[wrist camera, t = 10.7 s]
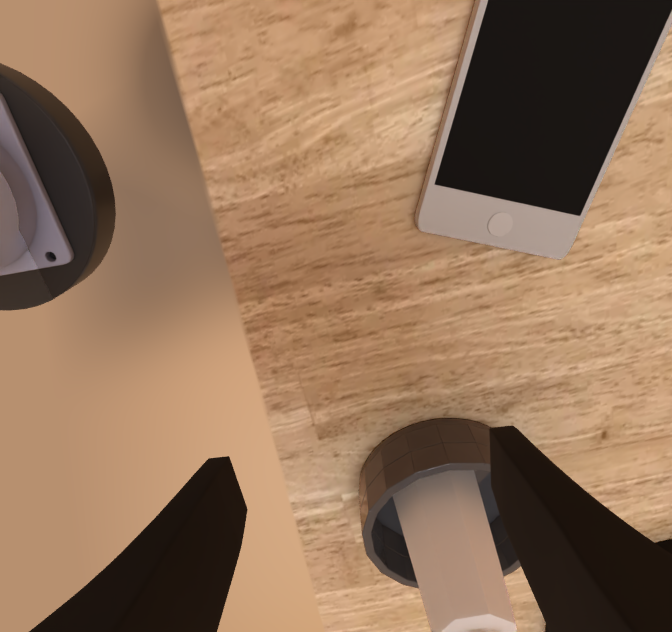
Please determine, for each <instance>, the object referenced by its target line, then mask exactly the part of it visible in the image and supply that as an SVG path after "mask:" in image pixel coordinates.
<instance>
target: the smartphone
mask: <svg viewBox="0 0 672 632" xmlns="http://www.w3.org/2000/svg"><path fill="white" fill-rule="evenodd" d="M671 25H672V0H475V3H474V7H473V10H472V14H471V18H470V21H469V25H468V28H467V32H466V35H465V39H464V42H463V46H462V50H461V53H460V57H459V60H458V64H457V67H456V71H455V74H454V78H453V82H452V85H451V89H450V92H449V96H448V99H447V103H446V106H445V110H444V114H443V117H442V121H441V124H440V128H439V131H438V135H437V138H436V142H435V145H434V149H433V153H432V156H431V160H430V163H429V167H428V170H427V174H426V177H425V181H424V185H423V188H422V192H421V195H420V199H419V202H418V206H417V209H416V214H415V224H416V226H417V227H418V229H419V230H420V231H422V232H426V233H431V234H436V235H441V236H446V237H451V238H456V239H460V240H465V241H470V242H475V243H480V244H485V245H490V246H495V247H499V248H504V249H509V250H514V251H519V252H524V253H529V254H534V255H538V256H543V257H548V258H553V259H558V260H560V259H563V258H564V257H565V256H566V255H567V254H568V252H569V251H570V249H571V247H572V245H573V243H574V241H575V238H576V236H577V234H578V232H579V230H580V227H581V225H582V223H583V221H584V218H585V216H586V214H587V212H588V210H589V207H590V205H591V203H592V201H593V198H594V196H595V194H596V192H597V190H598V187H599V185H600V183H601V181H602V178H603V176H604V174H605V172H606V170H607V167H608V165H609V163H610V161H611V159H612V156H613V154H614V152H615V150H616V147H617V145H618V143H619V141H620V139H621V136H622V134H623V132H624V130H625V127H626V125H627V123H628V121H629V119H630V116H631V114H632V112H633V110H634V107H635V105H636V103H637V101H638V99H639V96H640V94H641V92H642V90H643V87H644V85H645V83H646V81H647V79H648V76H649V74H650V72H651V70H652V68H653V65H654V63H655V61H656V59H657V56H658V54H659V52H660V50H661V48H662V45H663V43H664V41H665V39H666V36H667V34H668V32H669V30H670V28H671Z"/></svg>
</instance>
